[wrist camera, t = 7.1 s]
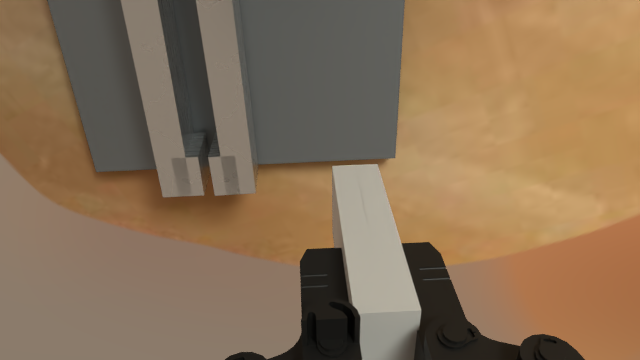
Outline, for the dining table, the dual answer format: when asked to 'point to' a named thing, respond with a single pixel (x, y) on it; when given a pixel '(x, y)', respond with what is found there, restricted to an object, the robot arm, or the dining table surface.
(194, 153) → the tongs fixed
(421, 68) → the dining table surface
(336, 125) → the board
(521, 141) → the dining table surface
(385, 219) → the robot arm
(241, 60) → the tongs jaw
